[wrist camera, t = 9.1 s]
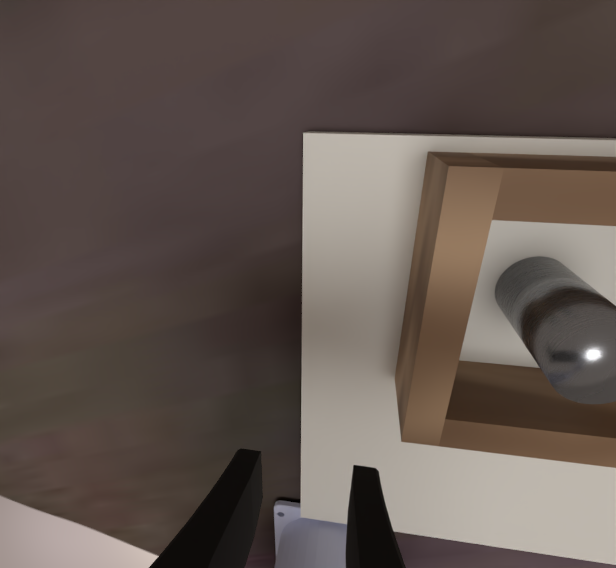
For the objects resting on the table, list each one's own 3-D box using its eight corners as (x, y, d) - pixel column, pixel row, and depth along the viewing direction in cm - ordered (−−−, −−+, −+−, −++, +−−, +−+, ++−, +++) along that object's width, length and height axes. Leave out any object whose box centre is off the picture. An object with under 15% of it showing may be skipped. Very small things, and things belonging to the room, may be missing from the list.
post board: (613, 545, 23) (694, 689, 18) (303, 500, 26) (285, 613, 20) (864, 143, 13) (1260, 172, 7) (307, 131, 16) (272, 145, 10)
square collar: (630, 402, 18) (697, 477, 14) (394, 378, 19) (401, 441, 15) (753, 160, 13) (905, 181, 9) (427, 151, 14) (448, 166, 11)
